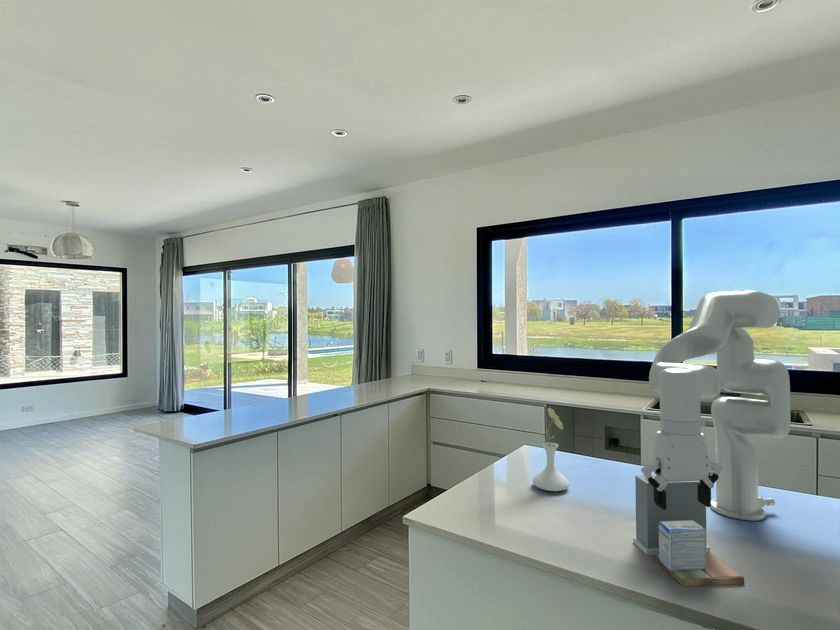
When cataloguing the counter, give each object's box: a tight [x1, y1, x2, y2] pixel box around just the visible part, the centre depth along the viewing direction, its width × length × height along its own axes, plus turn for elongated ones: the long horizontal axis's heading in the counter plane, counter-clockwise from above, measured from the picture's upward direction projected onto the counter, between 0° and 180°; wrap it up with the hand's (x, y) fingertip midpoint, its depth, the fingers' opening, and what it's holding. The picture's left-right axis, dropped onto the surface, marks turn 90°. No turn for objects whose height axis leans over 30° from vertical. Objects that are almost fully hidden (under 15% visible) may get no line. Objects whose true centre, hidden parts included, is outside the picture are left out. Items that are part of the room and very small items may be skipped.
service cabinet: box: [632, 474, 711, 556], centre depth 106 cm, size 15×6×16 cm, turn 93°
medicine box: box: [659, 520, 707, 571], centre depth 96 cm, size 8×4×9 cm, turn 92°
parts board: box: [653, 551, 745, 587], centre depth 96 cm, size 13×10×1 cm
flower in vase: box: [532, 407, 570, 492], centre depth 145 cm, size 13×11×25 cm
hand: (682, 505), depth 97 cm, fingers open, 9 cm apart
